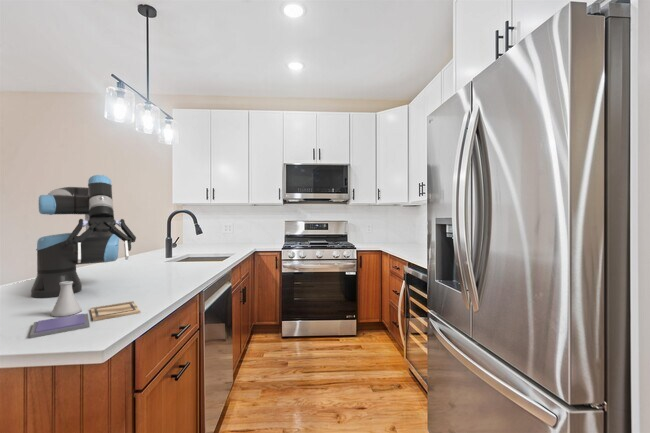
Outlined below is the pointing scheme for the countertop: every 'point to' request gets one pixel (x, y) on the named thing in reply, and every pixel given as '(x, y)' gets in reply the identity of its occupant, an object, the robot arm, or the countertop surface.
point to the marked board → (114, 311)
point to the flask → (66, 301)
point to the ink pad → (59, 325)
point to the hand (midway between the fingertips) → (104, 259)
